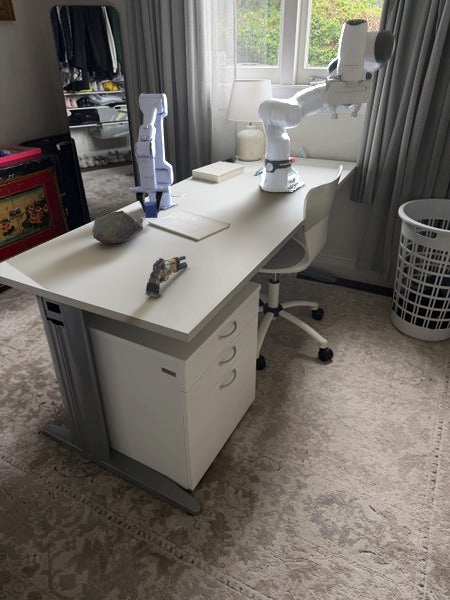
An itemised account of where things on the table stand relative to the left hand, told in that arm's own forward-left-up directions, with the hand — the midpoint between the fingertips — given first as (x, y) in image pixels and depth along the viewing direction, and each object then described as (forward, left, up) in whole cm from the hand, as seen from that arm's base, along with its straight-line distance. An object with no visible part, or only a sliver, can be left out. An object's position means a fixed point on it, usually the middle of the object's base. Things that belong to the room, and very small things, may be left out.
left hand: (151, 211), depth 161 cm
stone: (+3, -20, -5) cm, 20 cm away
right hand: (+53, +50, +31) cm, 79 cm away
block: (0, 0, -2) cm, 2 cm away
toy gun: (+38, -34, -5) cm, 51 cm away
